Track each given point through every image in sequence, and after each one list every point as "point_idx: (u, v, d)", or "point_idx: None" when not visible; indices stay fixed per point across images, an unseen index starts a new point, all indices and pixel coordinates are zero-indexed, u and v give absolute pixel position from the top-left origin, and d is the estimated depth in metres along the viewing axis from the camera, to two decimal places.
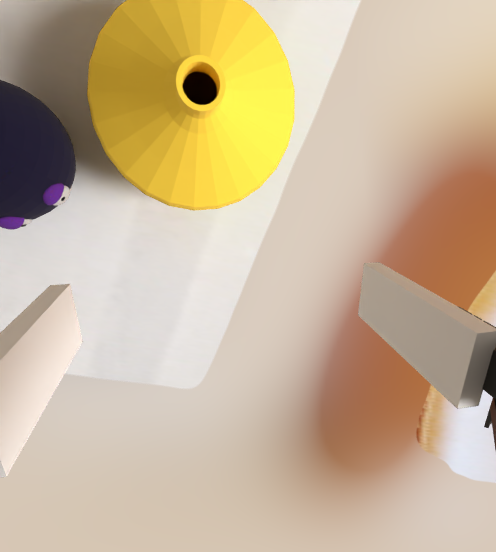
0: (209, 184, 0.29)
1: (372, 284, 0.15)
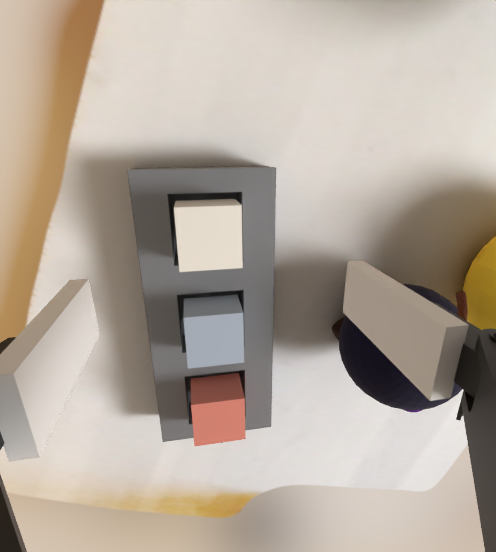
0: None
1: (355, 281, 0.15)
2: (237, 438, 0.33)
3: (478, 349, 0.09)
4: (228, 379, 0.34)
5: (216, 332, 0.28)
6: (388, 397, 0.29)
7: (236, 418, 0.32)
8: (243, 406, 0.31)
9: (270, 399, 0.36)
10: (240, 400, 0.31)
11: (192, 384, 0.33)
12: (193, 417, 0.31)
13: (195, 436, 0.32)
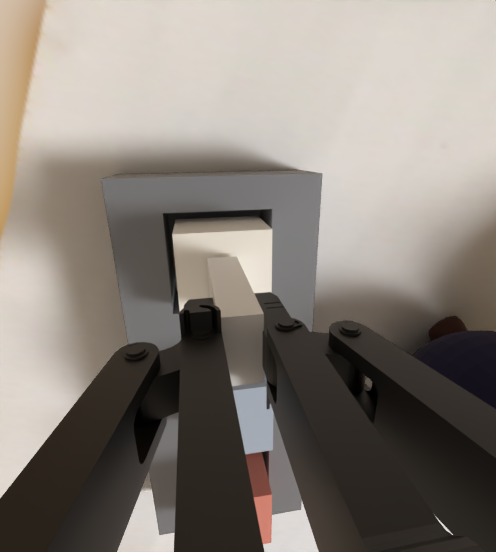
0: None
1: None
2: None
3: (269, 342, 0.10)
4: (246, 458, 0.25)
5: None
6: None
7: (260, 519, 0.23)
8: (270, 504, 0.23)
9: None
10: (265, 497, 0.22)
11: None
12: None
13: None
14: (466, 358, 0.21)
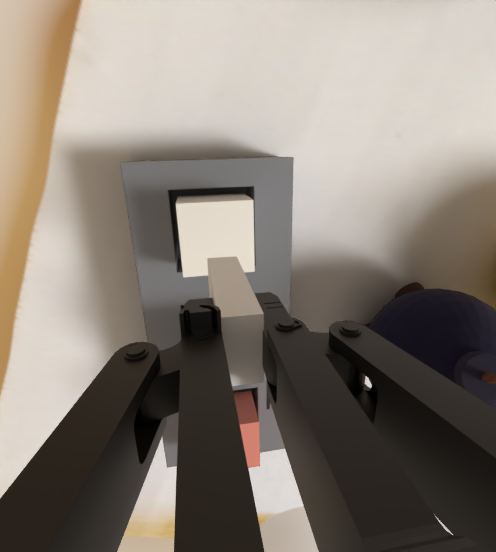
0: None
1: None
2: (251, 465, 0.29)
3: (269, 342, 0.10)
4: (239, 398, 0.30)
5: None
6: None
7: (250, 443, 0.28)
8: (257, 430, 0.28)
9: None
10: (253, 424, 0.27)
11: None
12: None
13: None
14: (414, 307, 0.26)
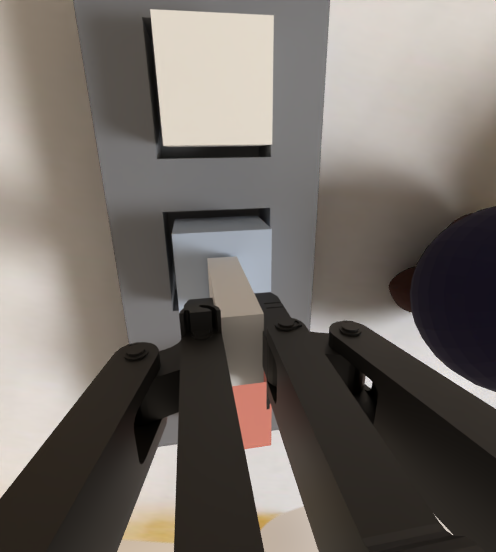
0: None
1: None
2: (259, 444, 0.21)
3: (269, 342, 0.10)
4: None
5: None
6: None
7: (258, 413, 0.20)
8: None
9: None
10: (264, 384, 0.19)
11: None
12: None
13: None
14: None
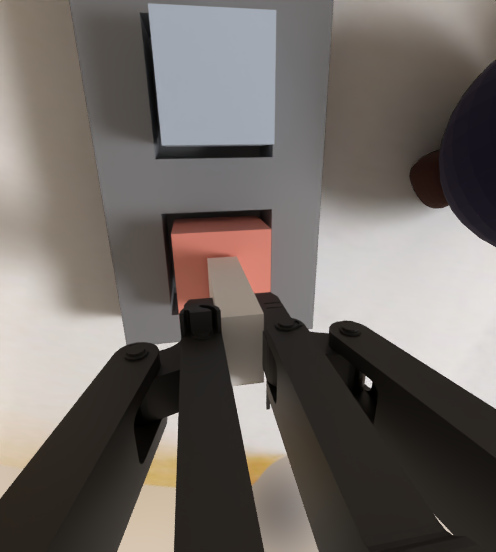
0: None
1: None
2: None
3: (269, 342, 0.10)
4: (238, 218, 0.19)
5: (218, 55, 0.13)
6: None
7: (256, 272, 0.17)
8: (268, 247, 0.17)
9: (314, 275, 0.21)
10: (262, 232, 0.17)
11: (176, 222, 0.19)
12: (176, 262, 0.17)
13: (181, 304, 0.17)
14: None
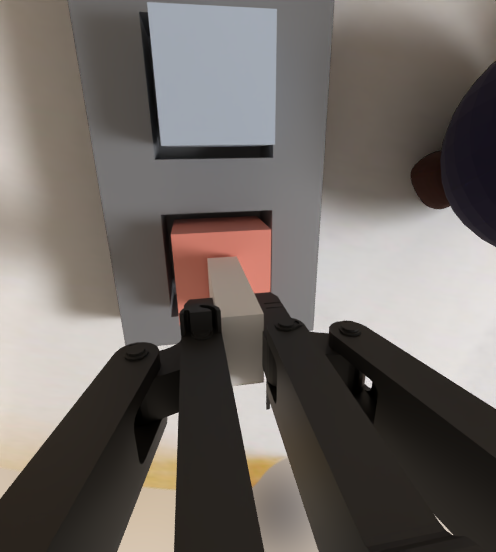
0: None
1: None
2: None
3: (269, 342, 0.10)
4: (238, 219, 0.19)
5: (218, 54, 0.13)
6: None
7: (255, 272, 0.17)
8: (268, 247, 0.17)
9: (314, 276, 0.21)
10: (262, 232, 0.17)
11: (176, 222, 0.19)
12: (176, 262, 0.17)
13: (180, 304, 0.17)
14: None
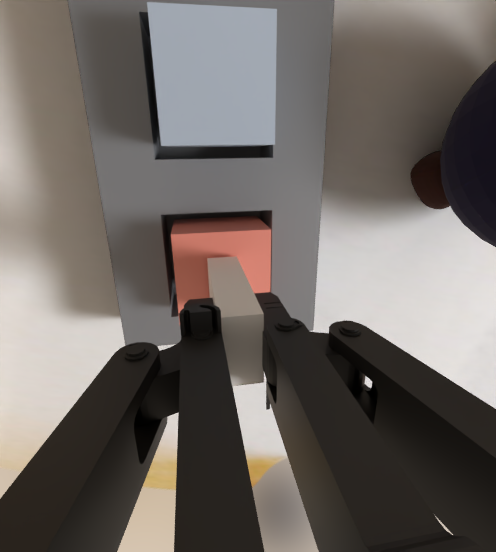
0: None
1: None
2: None
3: (269, 342, 0.10)
4: (238, 219, 0.19)
5: (218, 54, 0.13)
6: None
7: (255, 272, 0.17)
8: (268, 247, 0.17)
9: (314, 276, 0.21)
10: (262, 232, 0.17)
11: (176, 222, 0.19)
12: (176, 262, 0.17)
13: (180, 304, 0.17)
14: None
